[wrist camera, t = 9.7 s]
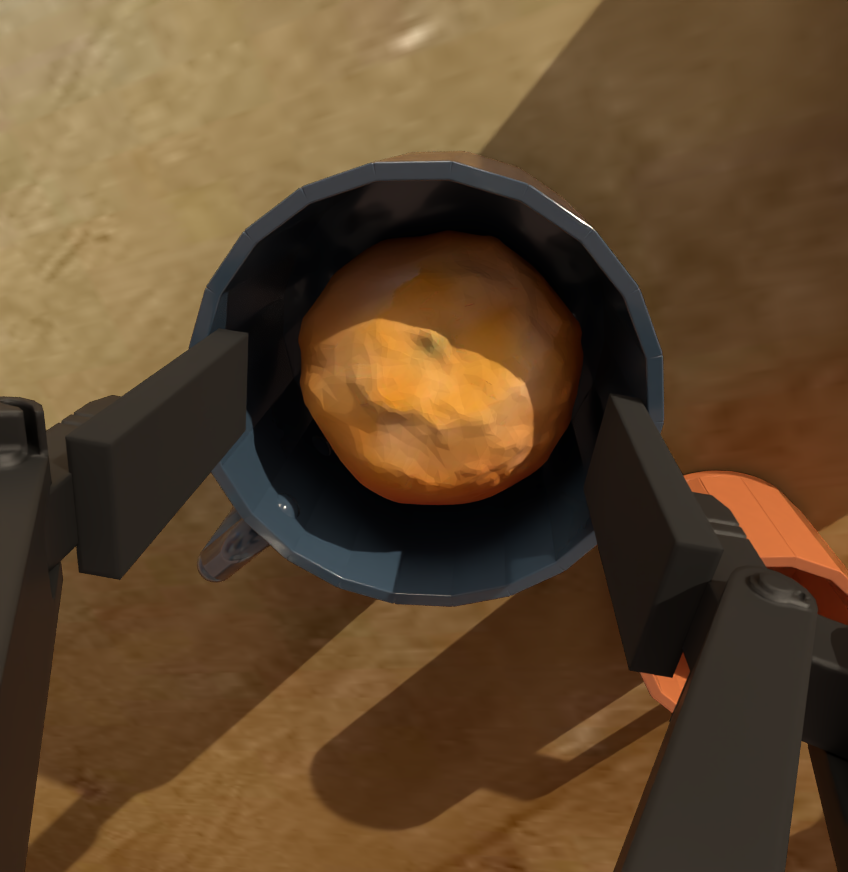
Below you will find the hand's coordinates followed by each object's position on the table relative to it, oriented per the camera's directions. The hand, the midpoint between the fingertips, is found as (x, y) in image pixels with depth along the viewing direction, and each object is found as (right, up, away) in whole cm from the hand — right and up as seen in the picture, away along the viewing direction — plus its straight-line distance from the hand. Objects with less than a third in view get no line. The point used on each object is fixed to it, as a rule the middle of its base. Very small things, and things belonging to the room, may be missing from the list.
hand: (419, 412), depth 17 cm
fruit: (+1, +3, +6) cm, 7 cm away
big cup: (-1, +2, +7) cm, 7 cm away
